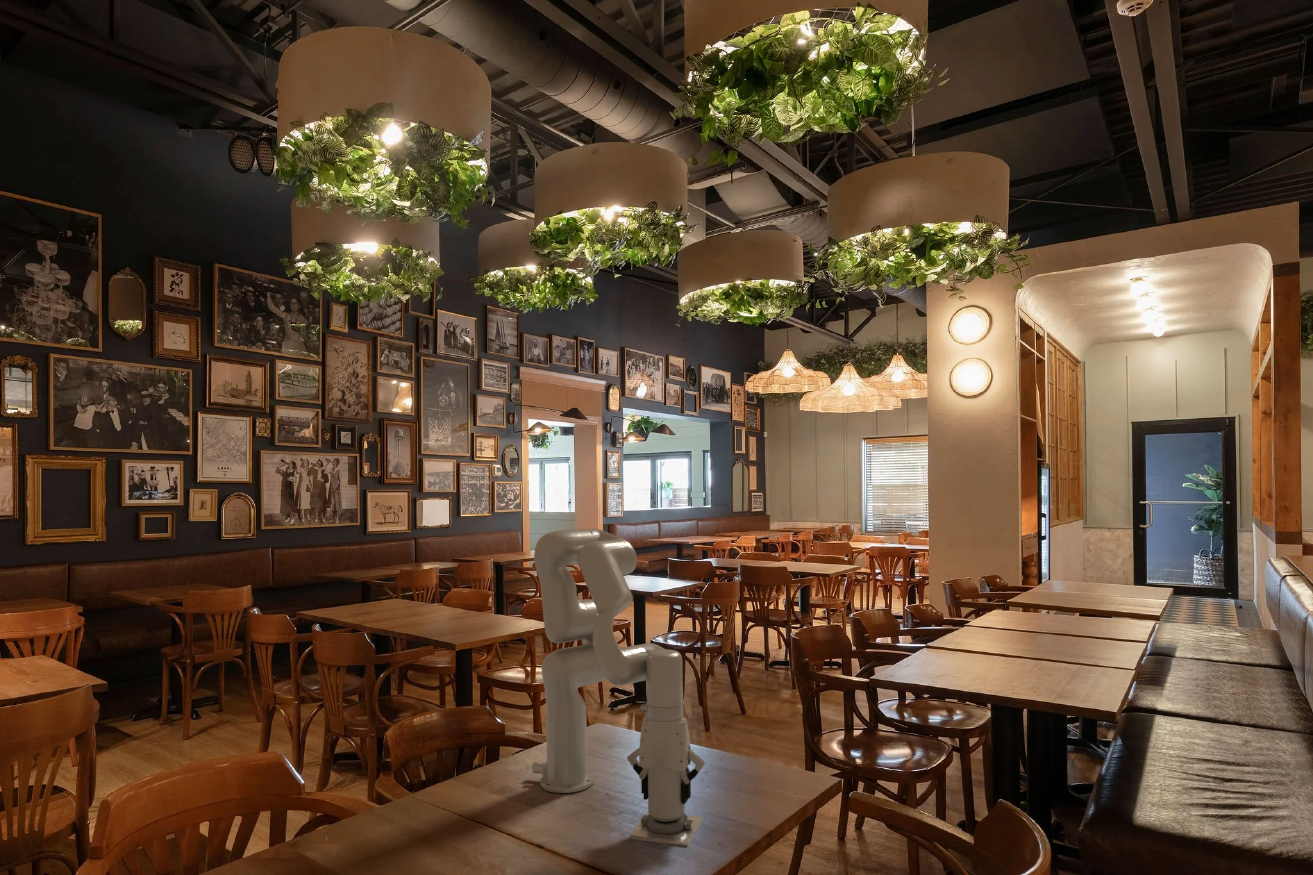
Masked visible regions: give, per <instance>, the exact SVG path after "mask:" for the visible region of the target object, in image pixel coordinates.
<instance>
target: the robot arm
mask: <svg viewBox="0 0 1313 875" xmlns="http://www.w3.org/2000/svg"><path fill="white" fill-rule="evenodd" d="M637 558H638V557H637V553H636V550H635V549H634V547H633V545H632V544H631V543H630V542H629V541H628V540H626V539H624V538H622V537H620V536H618V535H614V534H612V533H610V532H607V531H605V530H603V529H599V528H583V529H581V528H580V529H561V530H554V531H551V532H550V531H549V532H548V533H545V534H544V535H542V536H541V537H540V538H539V540H538V541H537V542H536V545H535V547H534V554H533V560H534V566H535V570H536V573H537V577H538V580H539V584H540V590H541V592H540V593H541V601H542V602H541V603H542V604H541V605H542V616H543V623H544V624H543V627H544V632H545V636H546V638H547V639H548V640H549V641H550V642H552V643H556V644H561V643H562V644H564V643H571V642H576V641H580V640H581V643H582V645H581V644H580V645H575V646H569V647H564V648H560V649H559V648H558V649H555V650H553V651H552V652H550V653H548V654H547V655H546V656H545V657H544V659H543V661H542V664H541V678H542V682H543V688H544V694H545V712H546V714H545V718H546V722H545V723H546V761H545V762H541V761H540V762H539V761H533V762H532V765H531V769H532V773H533V774H540V775H542V777H541V778H540V781H539V784H540V788H542V789H543V790H545V791H547V792H549V793H550V792H551V793H557V794H569V793H570V794H572V793H577V792H580V791H581V792H582V791H584V790H586V789H587V790H588V789H589V788H590V787H591V786H592V785H593V784H594V776H593V774H592V773H591V772H589V771H588V762H587V760H588V759H587V757H588V754H587V752H588V747H587V743H588V742H587V741H588V740H587V739H588V738H587V736H588V735H587V733H588V732H587V706H586V703H585V701H584V698H583V697H582V696H581V694H580V693H579V688H582V687H585V686H590V685H593V684H597V683H598V684H599V683H602V682H604V681H605V680H608V681H609V683H610V684H613V685H615V686H621V687H623V686H626V685H630V684H635V683H639V682H645V681H646V703H644V704H640V707H639V709H640V710H639V711H641V712H645V717H643V719H642V721H641V727H640V728H641V729H640V735H639V736H640V737H639V747H638V748H636V749H635V750H634V751H632V752H631V753H630V754H629V755H628V756H627V757H626V759H627V761H628V762H629V763H630V765H631V766H632V769H633V771H635V773H637V775H638V777H639V778H638V779H640V780H641V783H640V784H641V786H640V787H641V794H643V800H645V801H646V800H647V801H648V770H650V769H651V767H653V766H655V765H658V764H659V763H658V762H656V761H662V762H667V763H665V765H666V766H668V767H670V768H671V769H672V770H673V772H675V773H680V776H681V778H682V780H683V783H682V784H681V803H682V804H684V805H685V804H686V803H687V802H688V800H689V799H690V798H691V795H692V791H691V790H692V788H691V787H692V786H691V785H692V784H691V783H692V781H693V780H694V779H695V778H696V776H697V775H698V774H699V773H700V771H701V770H702V769H703V768H704V766H705V764H706V763H705V761H704V760H703V759H702V758H701V757H700V756H699V755H698V754H696V753H695V752H694V751H693V750H692V749H691V740H690V732H689V725H688V721H687V717H684V686H683V683H684V681H683V678H684V677H683V656H682V654H681V653H680V652H679V651H677V650H674V649H666V648H664V647H662V646H660V645H658V644H656V643H653V642H652V643H651V642H650V643H649V642H648V643H642V644H636V645H634V644H633V645H630V646H625V647H620V646H619V643H618V642H617V639H616V637H615V634H614V629H613V627H614V619H615V617H617V616H619V615H620V614H622V613H623V612H624V611H625V610H626V609H627V608H628V607H629V606H630V605H631V604H632V602H633V594H632V592H631V589H630V586H629V584H628V583H627V581H626V578H625V576H627V575H629V574H631V573H633V572H634V571H635V569H636V567H637V564H638V559H637ZM573 565H578V568H579V570H580V572H581V575H582V577H583V580H584V582H585V584H586V587H587V590H588V592H589V593H590V597H591V598H592V599H591V598H590V599H589V598H586V599H580V600H579V599H578V594H577V583H576V581H575V579H574V576H573V575H572V573H571V572H570V571H569V570H568V569H567V566H573ZM691 763H693V764H694V766H695V767H693V769H691V770H690V768H689V765H691Z"/></svg>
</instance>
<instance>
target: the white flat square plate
mask: <svg viewBox="0 0 1313 875" xmlns="http://www.w3.org/2000/svg"><path fill="white" fill-rule="evenodd" d="M702 822H703V816H699V815H697V816H696V815H688V814H686V813H685V812H684V813H683V815H681V816H680V818H679V819H677V820H674V821H659V820H656V819H654V818H653V817H652V816H651V815H650V814H649V813H648V811H647V812H646V813H645V814H644V815H642V817H641V818H640V821H639V822H638V824H637V825H636V826H635V828H634V829H633V831H632V832H631V833H630V834H629V839H630V840H635V841H643V842H650V843H651V842H652V843H659V844H669V845H674V846H684V847H689V845H690V844H691V842H692V840H693V839H694V837H695V835H696V833H697V831H698V830H699V828H700V826H701V824H702Z"/></svg>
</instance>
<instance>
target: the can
mask: <svg viewBox="0 0 1313 875" xmlns="http://www.w3.org/2000/svg"><path fill="white" fill-rule="evenodd" d="M656 762H658V763H659V764H658V765H655V766H653V767H651V769H650V770H648V799H647V803H648V804H647V805H648V806H647V807H648V808H647V812H648V813H649V814H650V815H651V816H652V817H653V818H654V819H656V820H659V821H674V820H677V819H679V818H680V816H681V815H683V813H685V811H686V810H685V804H682V803H681V784H682V783H683V780H682V778H681V776H680V773H675V772H673V770H672V769H671V768H670V767H668V766H666V765H665V763H667V762H662V761H656Z"/></svg>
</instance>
